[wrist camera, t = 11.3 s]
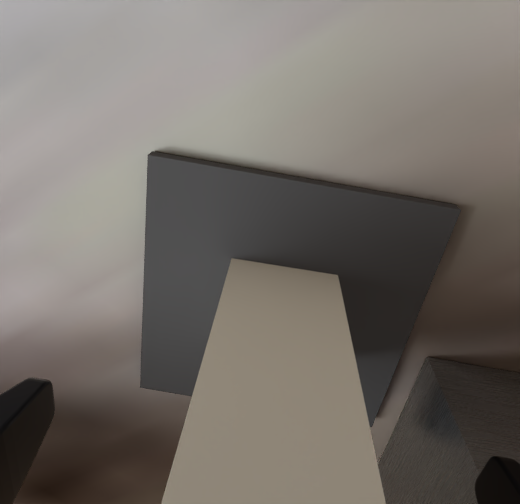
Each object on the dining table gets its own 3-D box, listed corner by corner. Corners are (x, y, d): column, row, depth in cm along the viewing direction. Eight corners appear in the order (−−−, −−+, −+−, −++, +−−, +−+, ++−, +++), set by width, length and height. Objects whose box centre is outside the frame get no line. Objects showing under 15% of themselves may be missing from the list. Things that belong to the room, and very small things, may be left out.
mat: (144, 379, 14) (140, 387, 14) (152, 151, 10) (147, 154, 10) (369, 417, 14) (371, 427, 14) (455, 204, 11) (460, 209, 10)
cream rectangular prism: (221, 342, 13) (128, 723, 5) (231, 258, 11) (127, 619, 4) (316, 357, 13) (348, 759, 5) (337, 275, 11) (419, 665, 4)
